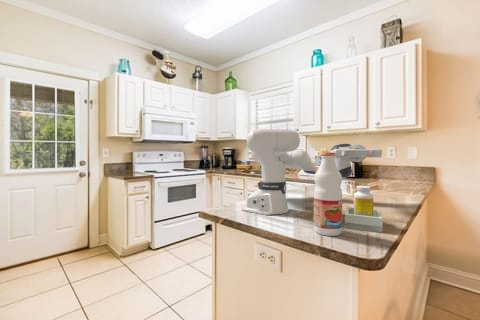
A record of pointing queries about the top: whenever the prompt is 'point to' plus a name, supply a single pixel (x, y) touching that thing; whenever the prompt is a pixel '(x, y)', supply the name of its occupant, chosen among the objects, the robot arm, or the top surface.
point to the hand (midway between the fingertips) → (356, 153)
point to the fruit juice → (328, 197)
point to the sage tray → (364, 221)
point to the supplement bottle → (363, 201)
